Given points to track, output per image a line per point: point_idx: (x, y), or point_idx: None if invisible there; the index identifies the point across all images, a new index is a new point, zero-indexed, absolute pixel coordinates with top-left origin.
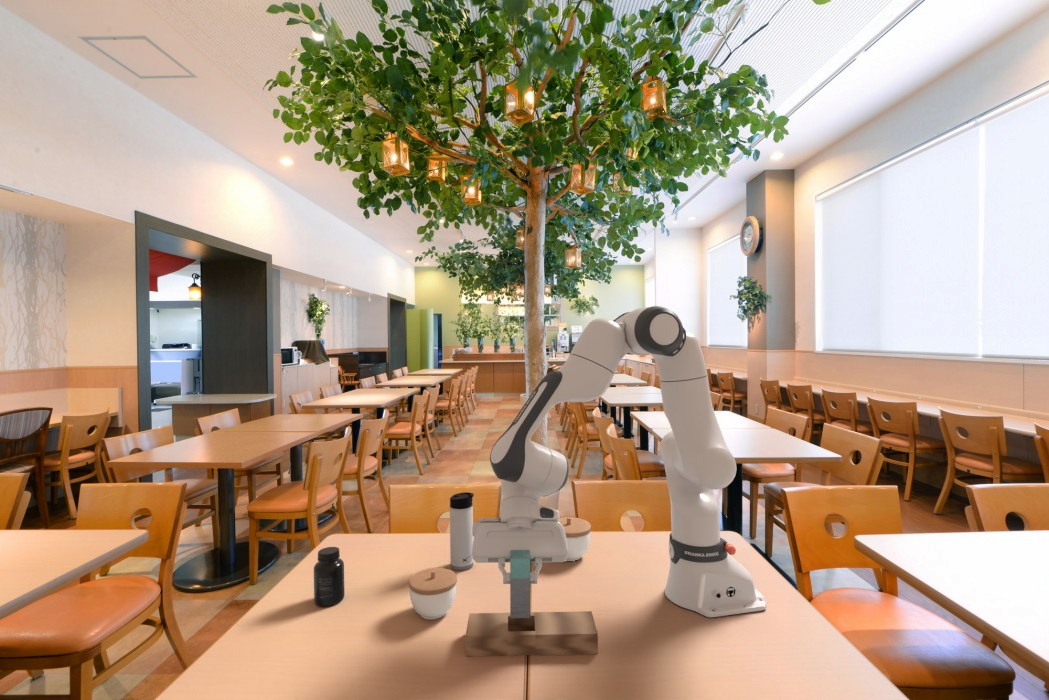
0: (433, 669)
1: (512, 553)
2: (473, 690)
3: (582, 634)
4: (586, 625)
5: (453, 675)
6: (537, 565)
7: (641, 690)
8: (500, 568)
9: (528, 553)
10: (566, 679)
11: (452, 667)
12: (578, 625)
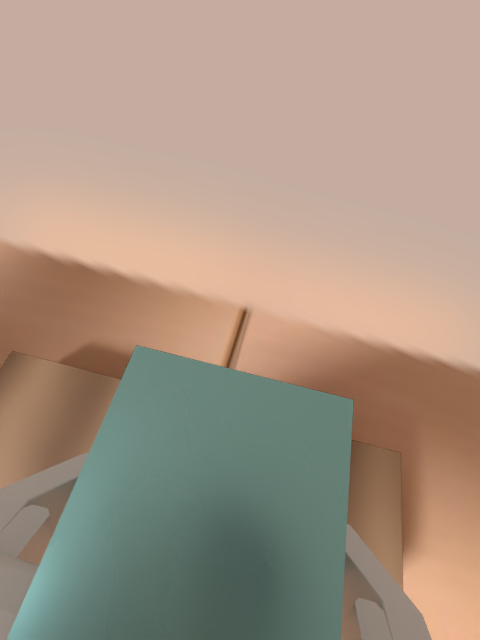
0: (441, 425)
1: (313, 564)
2: (346, 336)
3: (55, 363)
4: (12, 399)
5: (391, 391)
6: (50, 487)
7: (42, 254)
8: (378, 570)
9: (93, 489)
10: (159, 314)
11: (398, 419)
12: (36, 406)
